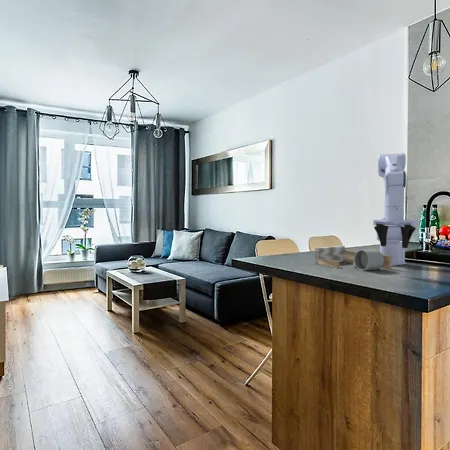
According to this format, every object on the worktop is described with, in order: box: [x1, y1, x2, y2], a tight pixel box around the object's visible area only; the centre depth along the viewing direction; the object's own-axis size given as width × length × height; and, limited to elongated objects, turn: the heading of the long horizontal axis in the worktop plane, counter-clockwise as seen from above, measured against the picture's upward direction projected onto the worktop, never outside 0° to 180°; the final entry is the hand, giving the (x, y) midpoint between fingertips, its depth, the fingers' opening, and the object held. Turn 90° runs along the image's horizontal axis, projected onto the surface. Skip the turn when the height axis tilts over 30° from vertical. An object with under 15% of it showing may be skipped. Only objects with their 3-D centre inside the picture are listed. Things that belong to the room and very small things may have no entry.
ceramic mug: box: [352, 249, 384, 272], centre depth 134 cm, size 11×8×8 cm
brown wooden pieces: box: [314, 245, 392, 270], centre depth 140 cm, size 15×24×6 cm, turn 30°
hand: (393, 247), depth 123 cm, fingers open, 7 cm apart
